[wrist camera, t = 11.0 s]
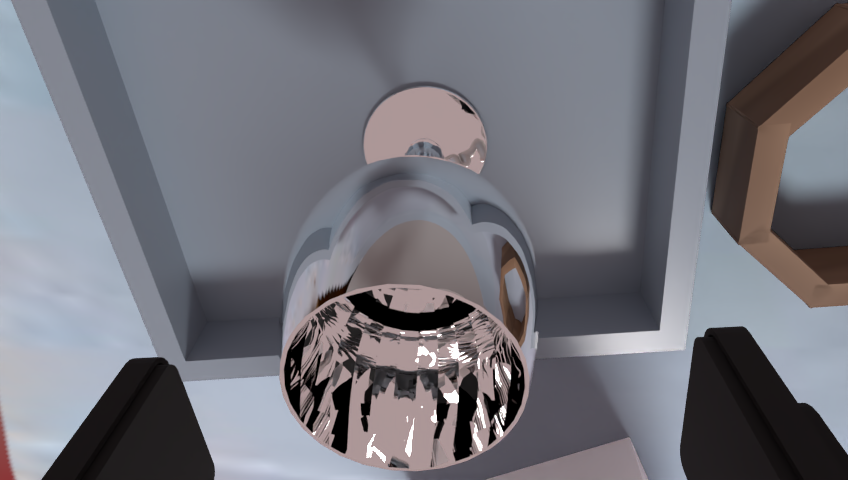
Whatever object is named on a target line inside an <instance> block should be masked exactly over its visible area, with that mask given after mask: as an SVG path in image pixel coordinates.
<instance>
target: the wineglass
mask: <svg viewBox="0 0 848 480" xmlns="http://www.w3.org/2000/svg"><path fill="white" fill-rule="evenodd" d="M363 152H364V159H365V162H366V164H367V165H364V166H362V167H360V168H358V169H356V170H354V171H353V172H351V173H349V174H348V175H346V176H345V177H344V178H342V179H341V180H340V181H339V182H337V183H336V184H335V185H334V186H333V187H331V188H330V189H329V190H328V191H327V192H326V193H325V194H324V195H323V197H322V198H321V199H320V200H319V202H318V203H317V204H316V205H315V207H314V208H313V209H312V211H311V212H310V213H309V214H308V216H307V217H306V219H305V221H304V222H303V224H302V226H301V228H300V230H299V232H298V234H297V237H296V239H295V242H294V245H293V247H292V250H291V253H290V256H289V260H288V263H287V266H286V271H285V276H284V282H283V289H282V296H281V304H280V320H279V378H280V384H281V388H282V393H283V397H284V399H285V401H286V403H287V405H288V408H289V410H290V412H291V414H292V415H293V416H294V417H295V419H296V420H297V421H298V423H299V424H300V425H301V427H302V428H303V429H304V430H305V431H306V432H307V433H308V434H310V435H311V436H312V437H313V438H314V439H315V440H317V441H318V442H319V443H320V444H322V445H323V446H325V447H327V448H328V449H330V450H332V451H333V452H335V453H337V454H338V455H340V456H343V457H345V458H348V459H351V460H353V461H356V462H358V463H361V464H364V465H368V466H373V467H378V468H383V469H388V470H400V471H423V470H431V469H439V468H445V467H448V466H451V465H455V464H458V463H462V462H465V461H468V460H470V459H472V458H474V457H476V456H478V455H480V454H481V453H483V452H485V451H487V450H489V449H491V448H492V447H493V446H495V445H496V444H497V443H499V442H500V441H501V440H502V439H503V438H504V437H505V436H506V435H507V434H508V433H509V432H510V431H511V430H512V428H513V427H514V426H515V425H516V423H517V422H518V420H519V418H520V416H521V414H522V413H523V411H524V408H525V405H526V401H527V398H528V395H529V391H530V386H531V382H532V376H533V370H534V363H535V357H536V351H537V345H538V337H539V319H540V284H539V273H538V268H537V263H536V258H535V253H534V249H533V246H532V243H531V240H530V238H529V235H528V233H527V230H526V228H525V226H524V224H523V223H522V221H521V219H520V218H519V216H518V214H517V212H516V211H515V209H514V207H513V206H512V205H511V204H510V202H509V201H508V200H507V199H506V198H505V196H504V195H503V194H502V193H501V192H500V191H499V190H498V189H497V188H496V187H495V186H494V185H493V184H492V183H490V182H489V181H488V180H487V179H486V178H484V177H482V176H481V175H480V174H481V172H482V170H483V168H484V165H485V163H486V158H487V153H488V136H487V132H486V129H485V126H484V123H483V121H482V119H481V117H480V116H479V114H478V112H477V111H476V110H475V109H474V107H473V106H472V105H471V104H470V103H469V102H468V101H467V100H465V99H464V98H462V97H461V96H459V95H458V94H457V93H454V92H452V91H450V90H447V89H445V88H441V87H435V86H413V87H408V88H405V89H402V90H399V91H397V92H395V93H393V94H391V95H390V96H388V97H387V98H385V99H384V100H383V101H382V102H381V103H380V104H379V105H378V106H377V107H376V109H375V110H374V111H373V113H372V114H371V116H370V117H369V119H368V122H367V125H366V127H365V130H364V136H363Z"/></svg>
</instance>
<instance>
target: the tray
mask: <svg viewBox="0 0 848 480" xmlns="http://www.w3.org/2000/svg"><path fill="white" fill-rule="evenodd" d="M11 1H12V3H13V6H14V8H15V11H16V13H17V16H18V18H19V20H20V23H21V25H22V28H23V30H24V33H25V35H26V37H27V40H28V42H29V45H30V47H31V50H32V52H33V54H34V57H35V59H36V62H37V64H38V67H39V69H40V71H41V74H42V76H43V79H44V81H45V84H46V86H47V88H48V91H49V93H50V96H51V98H52V101H53V103H54V105H55V108H56V110H57V113H58V115H59V118H60V120H61V122H62V125H63V127H64V130H65V132H66V135H67V137H68V139H69V142H70V144H71V147H72V149H73V152H74V154H75V156H76V159H77V161H78V164H79V166H80V169H81V171H82V173H83V176H84V178H85V181H86V183H87V186H88V188H89V190H90V193H91V195H92V198H93V200H94V203H95V205H96V207H97V210H98V212H99V215H100V217H101V220H102V222H103V224H104V227H105V229H106V232H107V234H108V237H109V239H110V241H111V244H112V246H113V249H114V251H115V254H116V256H117V259H118V261H119V263H120V266H121V268H122V271H123V273H124V276H125V278H126V280H127V283H128V285H129V288H130V290H131V293H132V295H133V297H134V300H135V302H136V305H137V307H138V310H139V312H140V314H141V317H142V319H143V322H144V324H145V327H146V329H147V331H148V334H149V336H150V339H151V341H152V344H153V346H154V348H155V351H156V353H157V356H158V357H162V358H165V359H166V360H167V361H168V363H169V364H172V365H175V366H176V368H177V369H178V372H179V374H180V377H181V379H182V382H183V381H199V380H215V379H231V378H247V377H263V376H279V320H280V304H281V296H282V289H283V282H284V276H285V271H286V266H287V263H288V260H289V256H290V253H291V250H292V247H293V245H294V242H295V239H296V237H297V234H298V232H299V230H300V228H301V226H302V224H303V222H304V221H305V219H306V217H307V216H308V214H309V213H310V212H311V211H312V209H313V208H314V207H315V205H316V204H317V203H318V202H319V200H320V199H321V198H322V197H323V195H324V194H325V193H326V192H327V191H328V190H329V189H330V188H331V187H333V186H334V185H335V184H336V183H337V182H339V181H340V180H341V179H342V178H344V177H345V176H346V175H348V174H349V173H351V172H353V171H354V170H356V169H358V168H360V167H362V166H364V165H367V164H366V162H365V159H364V152H363V136H364V130H365V127H366V125H367V122H368V119H369V117H370V116H371V114H372V113H373V111H374V110H375V109H376V107H377V106H378V105H379V104H380V103H381V102H382V101H383V100H384V99H385V98H387V97H388V96H390V95H391V94H393V93H395V92H397V91H399V90H402V89H405V88H408V87H413V86H435V87H441V88H445V89H447V90H450V91H452V92H454V93H457V94H458V95H459V96H461V97H462V98H464V99H465V100H467V101H468V102H469V103H470V104H471V105H472V106H473V107H474V109H475V110H476V111H477V112H478V114H479V116H480V117H481V119H482V121H483V123H484V126H485V129H486V132H487V136H488V153H487V158H486V163H485V165H484V168H483V170H482V172H481V174H480V175H481V176H482V177H484V178H486V179H487V180H488V181H489V182H490V183H492V184H493V185H494V186H495V187H496V188H497V189H498V190H499V191H500V192H501V193H502V194H503V195H504V196H505V198H506V199H507V200H508V201H509V202H510V204H511V205H512V206H513V207H514V209H515V211H516V212H517V214H518V216H519V218H520V219H521V221H522V223H523V224H524V226H525V228H526V230H527V233H528V235H529V238H530V240H531V243H532V246H533V249H534V253H535V258H536V263H537V268H538V273H539V284H540V319H539V337H538V345H537V351H536V357H535V359H549V358H565V357H581V356H597V355H613V354H629V353H645V352H661V351H677V350H685V346H686V338H687V331H688V323H689V316H690V309H691V301H692V294H693V286H694V279H695V271H696V264H697V256H698V249H699V241H700V234H701V226H702V219H703V211H704V204H705V196H706V189H707V182H708V174H709V167H710V159H711V152H712V144H713V137H714V129H715V122H716V114H717V107H718V99H719V92H720V84H721V77H722V69H723V62H724V55H725V47H726V40H727V32H728V25H729V17H730V10H731V2H732V0H11Z"/></svg>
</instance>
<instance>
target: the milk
mask: <svg viewBox="0 0 848 480" xmlns="http://www.w3.org/2000/svg"><path fill="white" fill-rule="evenodd" d="M485 480H648V477H647V475H646V473H645V471H644V468H643V466H642V464H641V462H640V459H639V457H638V455H637V453H636V450H635V448H634V446H633V444H632V441H631V439H630V437H628V438H624V439H621V440H617V441H614V442H611V443H607V444H604V445H601V446H597V447H594V448H590V449H587V450H584V451H580V452H577V453H573V454H570V455H567V456H563V457H560V458H557V459H553V460H550V461H546V462H543V463H540V464H536V465H533V466H529V467H526V468H523V469H519V470H516V471H513V472H509V473H506V474H502V475H499V476H496V477H492V478H489V479H485Z"/></svg>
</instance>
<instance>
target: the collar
mask: <svg viewBox="0 0 848 480" xmlns="http://www.w3.org/2000/svg"><path fill="white" fill-rule="evenodd" d="M847 87H848V3H844V4H838V3H837V4H834V6H833V7H832V8H831V9H830V10H829V11H828V12H827V13H826V14H825V15H824V16H822V17H821V18H820V19H819V20H818V21H817V22H816V23H815V24H814V25H813V26H812V27H810V28H809V29H808V30H807V31H806V32H805V33H804V34H803V35H802V36H801V37H800V38H798V39H797V40H796V41H795V42H794V43H793V44H792V45H791V46H790V47H789V48H787V49H786V50H785V51H784V52H783V53H782V54H781V55H780V56H779V57H778V58H777V59H775V60H774V61H773V62H772V63H771V64H770V65H769V66H768V67H767V68H766V69H765V70H763V71H762V72H761V73H760V74H759V75H758V76H757V77H756V78H755V79H754V80H753V81H751V82H750V83H749V84H748V85H747V86H746V87H745V88H744V89H743V90H742V91H741V92H739V93H738V94H737V95H736V96H735V97H734V98H733V99H732V100H731V101H730V102H728V103H727V104H726V106H727V107H726V114H725V121H724V128H723V135H722V142H721V149H720V156H719V163H718V170H717V177H716V184H715V191H714V199H713V206H712V211H711V212H712V214H713V215H714V216H715V218H716V219H717V220H718V221H719V222H720V224H721V225H722V226H723V227H724V228H725V229H726V231H727V232H728V233H729V234H730V235H731V237H732V238H733V239H734V240H735V241H736V243H737V244H738V245H741V246H742V247H743V248H744V249H745V250H746V251H747V252H749V253H750V254H751V255H752V256H753V257H754V258H755V259H756V260H758V261H759V262H760V263H761V264H762V265H763V266H764V267H765V268H767V269H768V270H769V271H770V272H771V273H772V274H773V275H774V276H776V277H777V278H778V279H779V280H780V281H781V282H782V283H783V284H785V285H786V286H787V287H788V288H789V289H790V290H791V291H792V292H794V293H795V294H796V295H797V296H798V297H799V298H800V299H802V300H803V301H804V302H805V303H806V304H807V306H808V307H809V308H813V307H828V306H843V305H848V246H842V247H828V248H815V249H801V250H793V249H792V248H791V247H790V246H789V245H788V244H787V243H786V242H785V241H784V240H782V239H781V238H780V237H779V236H778V235H777V234H776V233H775V232H774V231H773V230H772V229H771V224H772V219H773V214H774V209H775V203H776V198H777V193H778V188H779V183H780V178H781V173H782V168H783V163H784V158H785V153H786V148H787V143H788V138H789V136H790V135H791V134H793V133H794V132H795V131H796V130H797V129H799V128H800V127H801V126H802V125H803V124H804V123H806V122H807V121H808V120H809V119H810V118H812V117H813V116H814V115H815V114H816V113H817V112H819V111H820V110H821V109H822V108H823V107H824V106H826V105H827V104H828V103H829V102H830V101H832V100H833V99H834V98H835V97H836V96H837V95H839V94H840V93H841V92H842V91H843V90H845V89H846V88H847Z"/></svg>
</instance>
